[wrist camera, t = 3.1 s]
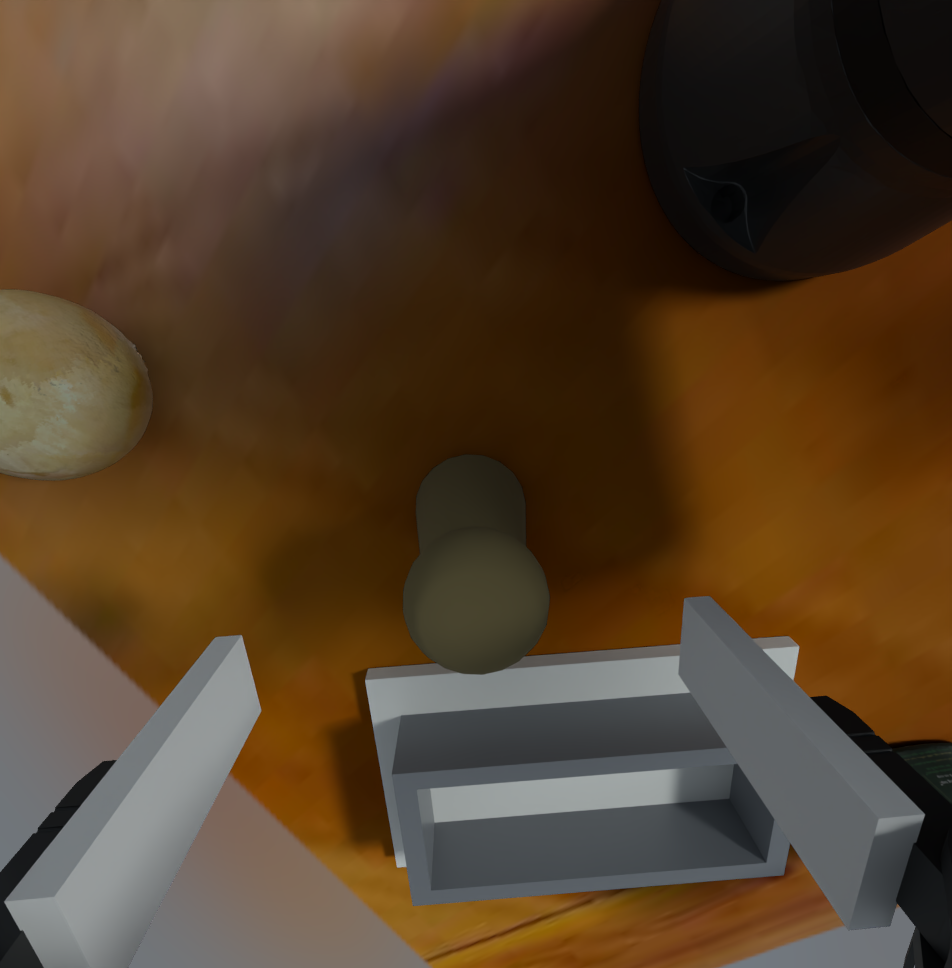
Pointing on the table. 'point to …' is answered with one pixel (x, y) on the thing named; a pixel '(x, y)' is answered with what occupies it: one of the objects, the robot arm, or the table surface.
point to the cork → (474, 569)
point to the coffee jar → (931, 764)
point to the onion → (66, 389)
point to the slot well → (565, 778)
